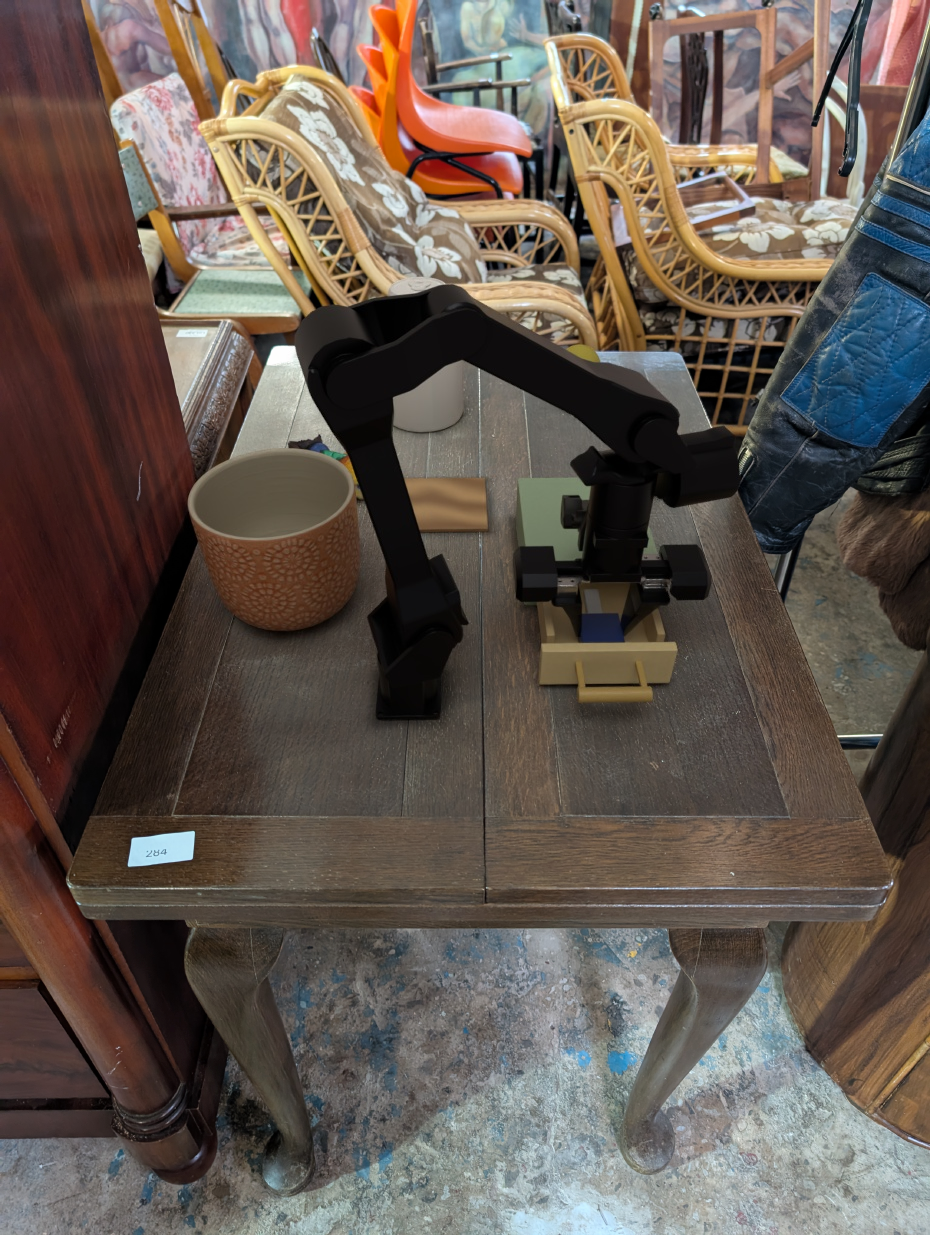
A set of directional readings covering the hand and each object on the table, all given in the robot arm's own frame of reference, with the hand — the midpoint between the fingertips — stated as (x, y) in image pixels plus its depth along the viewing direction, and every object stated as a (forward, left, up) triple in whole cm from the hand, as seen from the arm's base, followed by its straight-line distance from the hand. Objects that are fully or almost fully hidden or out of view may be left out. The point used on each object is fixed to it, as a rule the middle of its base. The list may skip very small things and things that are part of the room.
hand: (600, 634), depth 84 cm
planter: (+9, +34, -3) cm, 35 cm away
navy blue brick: (+2, 0, -1) cm, 3 cm away
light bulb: (+55, -4, -3) cm, 56 cm away
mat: (+28, +17, -3) cm, 33 cm away
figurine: (+33, +32, -3) cm, 46 cm away
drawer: (0, 0, -2) cm, 2 cm away
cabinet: (+16, 0, -3) cm, 17 cm away
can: (+53, +20, -3) cm, 57 cm away
